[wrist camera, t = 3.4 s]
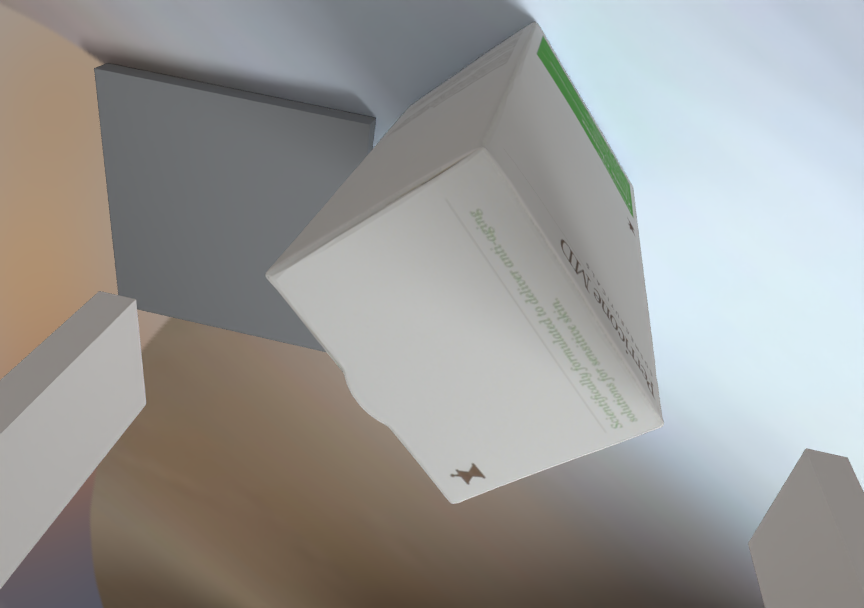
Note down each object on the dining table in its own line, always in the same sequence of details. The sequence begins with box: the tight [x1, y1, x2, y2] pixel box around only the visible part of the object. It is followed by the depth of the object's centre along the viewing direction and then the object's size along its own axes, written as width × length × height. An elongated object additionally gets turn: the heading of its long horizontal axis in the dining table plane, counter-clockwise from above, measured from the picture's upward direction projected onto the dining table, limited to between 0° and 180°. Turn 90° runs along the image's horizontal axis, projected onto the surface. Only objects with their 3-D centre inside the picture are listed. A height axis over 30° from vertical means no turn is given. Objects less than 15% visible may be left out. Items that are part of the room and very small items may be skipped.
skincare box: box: [265, 22, 664, 504], centre depth 23 cm, size 8×7×16 cm
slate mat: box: [94, 63, 376, 352], centre depth 33 cm, size 12×12×1 cm
